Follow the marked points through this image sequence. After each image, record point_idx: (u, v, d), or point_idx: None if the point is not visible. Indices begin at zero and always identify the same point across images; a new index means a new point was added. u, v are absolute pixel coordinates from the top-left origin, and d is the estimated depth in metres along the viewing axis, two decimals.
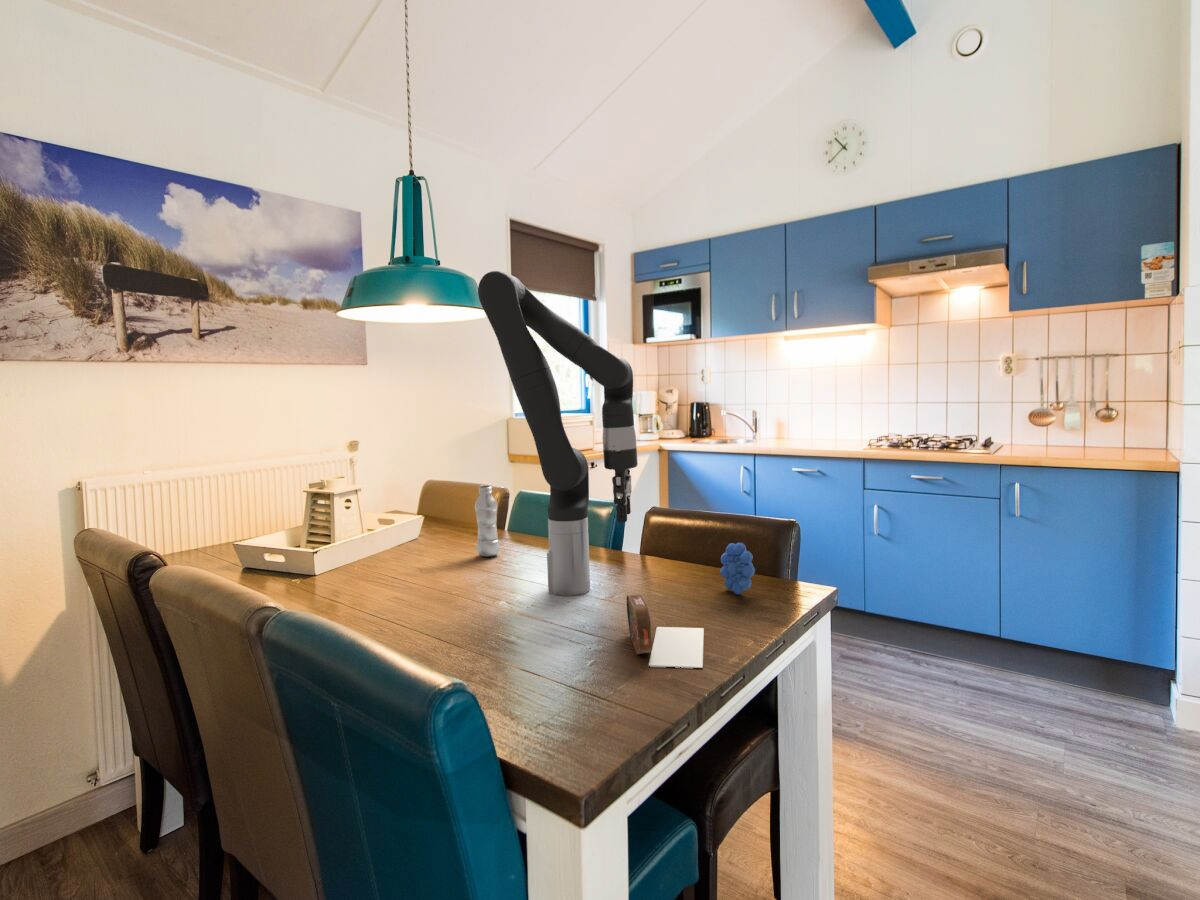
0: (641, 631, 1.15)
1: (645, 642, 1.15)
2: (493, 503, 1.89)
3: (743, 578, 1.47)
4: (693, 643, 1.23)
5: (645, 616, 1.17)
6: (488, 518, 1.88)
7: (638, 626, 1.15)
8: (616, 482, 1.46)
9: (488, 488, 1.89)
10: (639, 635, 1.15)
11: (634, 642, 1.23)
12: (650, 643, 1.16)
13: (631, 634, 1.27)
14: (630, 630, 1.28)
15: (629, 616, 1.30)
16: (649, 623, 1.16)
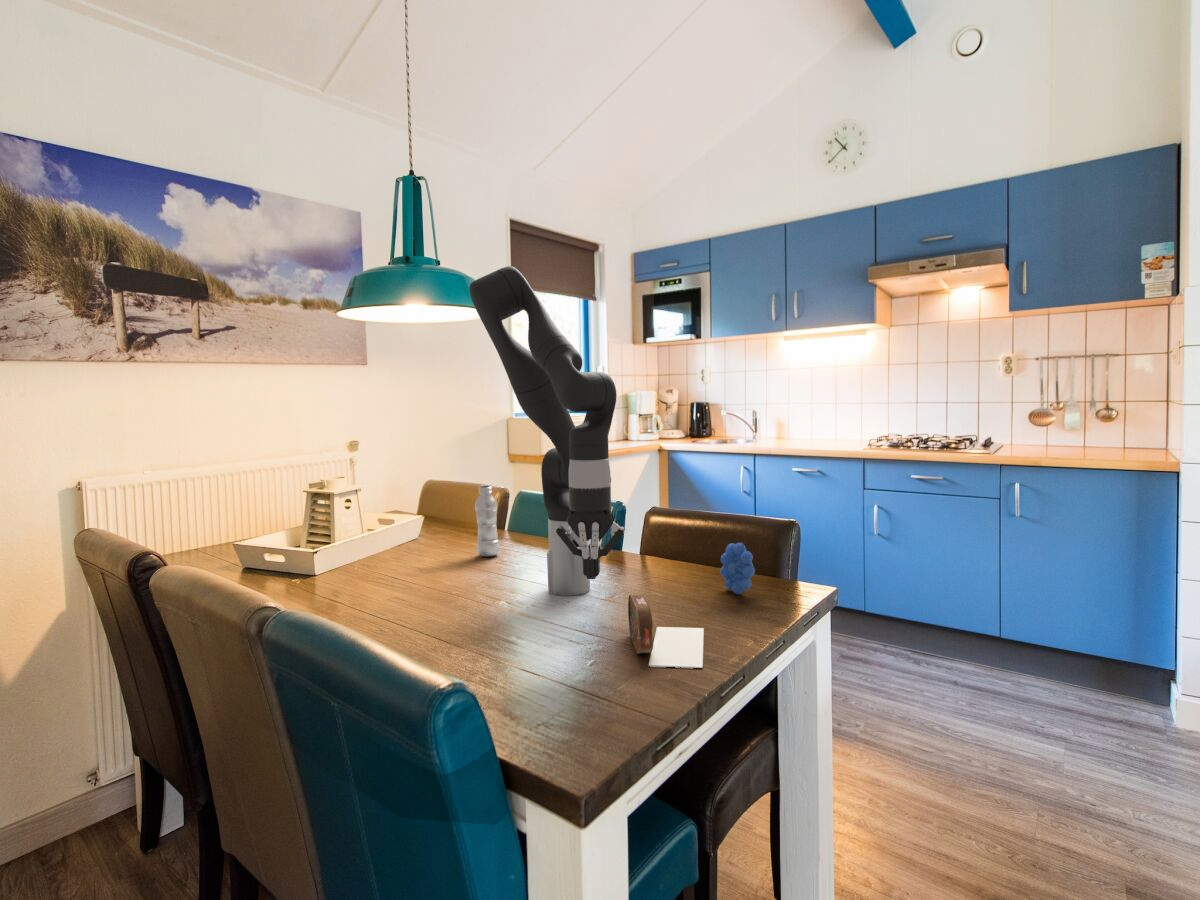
0: (642, 631, 1.15)
1: (646, 641, 1.16)
2: (493, 503, 1.89)
3: (743, 578, 1.47)
4: (693, 643, 1.23)
5: (647, 615, 1.17)
6: (488, 518, 1.88)
7: (640, 625, 1.16)
8: None
9: (488, 488, 1.89)
10: (640, 634, 1.15)
11: (634, 642, 1.23)
12: (651, 643, 1.16)
13: (631, 634, 1.27)
14: (630, 630, 1.28)
15: (630, 616, 1.30)
16: (651, 623, 1.16)
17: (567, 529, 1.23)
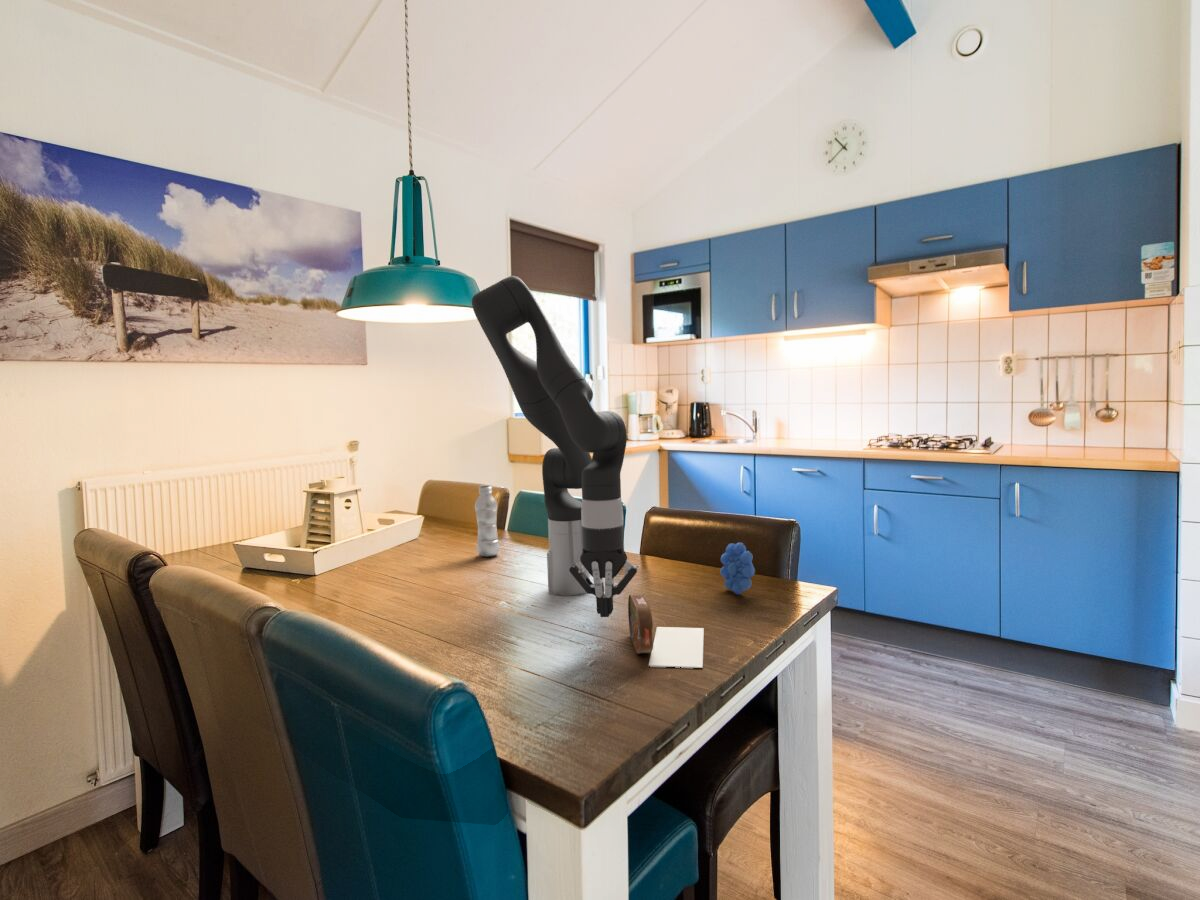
0: (642, 631, 1.15)
1: (646, 641, 1.16)
2: (493, 503, 1.89)
3: (743, 578, 1.47)
4: (693, 643, 1.23)
5: (647, 615, 1.17)
6: (488, 518, 1.88)
7: (640, 625, 1.16)
8: None
9: (488, 488, 1.89)
10: (640, 634, 1.15)
11: (634, 642, 1.23)
12: (651, 643, 1.16)
13: (631, 634, 1.27)
14: (630, 630, 1.28)
15: (630, 616, 1.30)
16: (651, 623, 1.16)
17: (580, 568, 1.23)
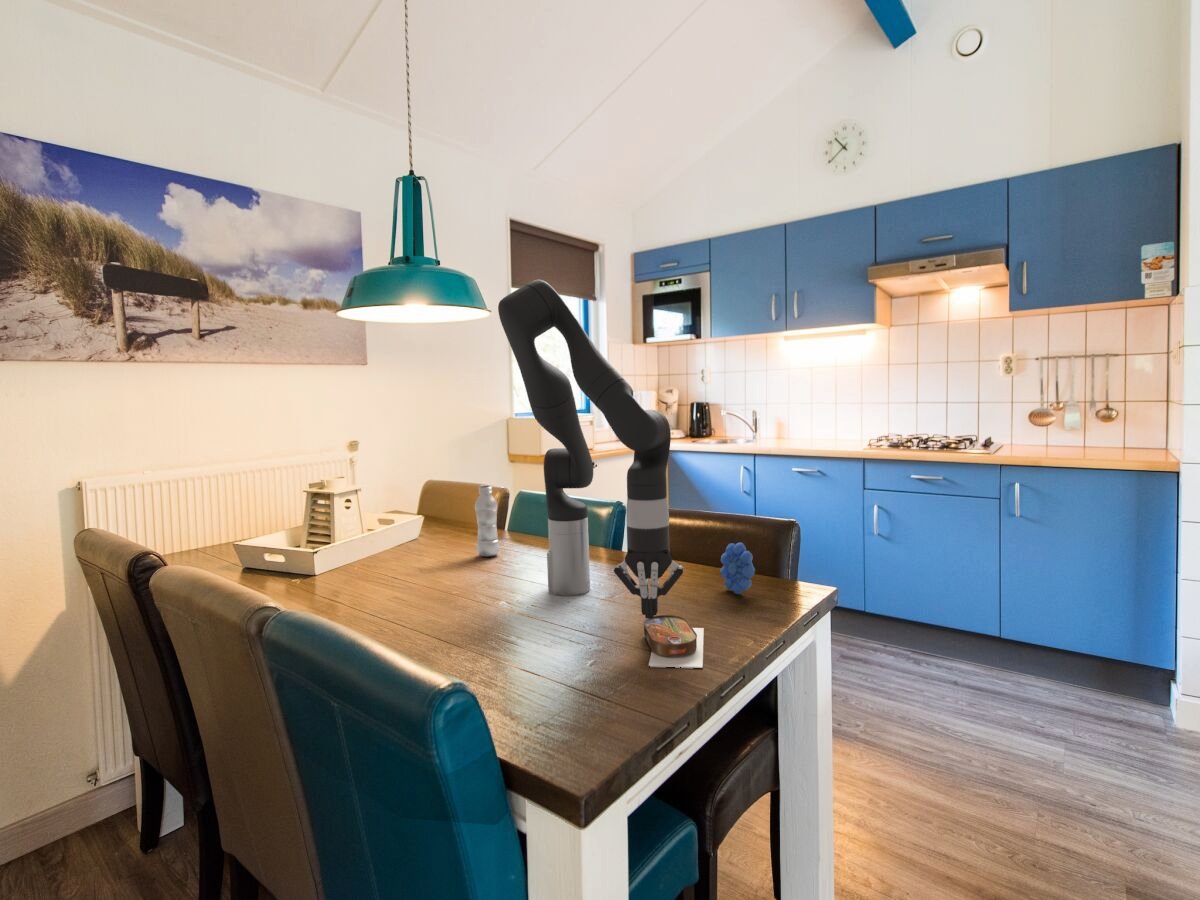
0: (683, 646, 1.16)
1: (673, 650, 1.16)
2: (493, 503, 1.89)
3: (743, 578, 1.47)
4: None
5: (694, 648, 1.18)
6: (488, 518, 1.88)
7: (688, 643, 1.17)
8: None
9: (488, 488, 1.89)
10: (680, 645, 1.16)
11: (648, 630, 1.23)
12: (671, 655, 1.16)
13: (645, 623, 1.27)
14: (647, 620, 1.28)
15: (656, 618, 1.30)
16: (689, 653, 1.17)
17: (625, 568, 1.21)
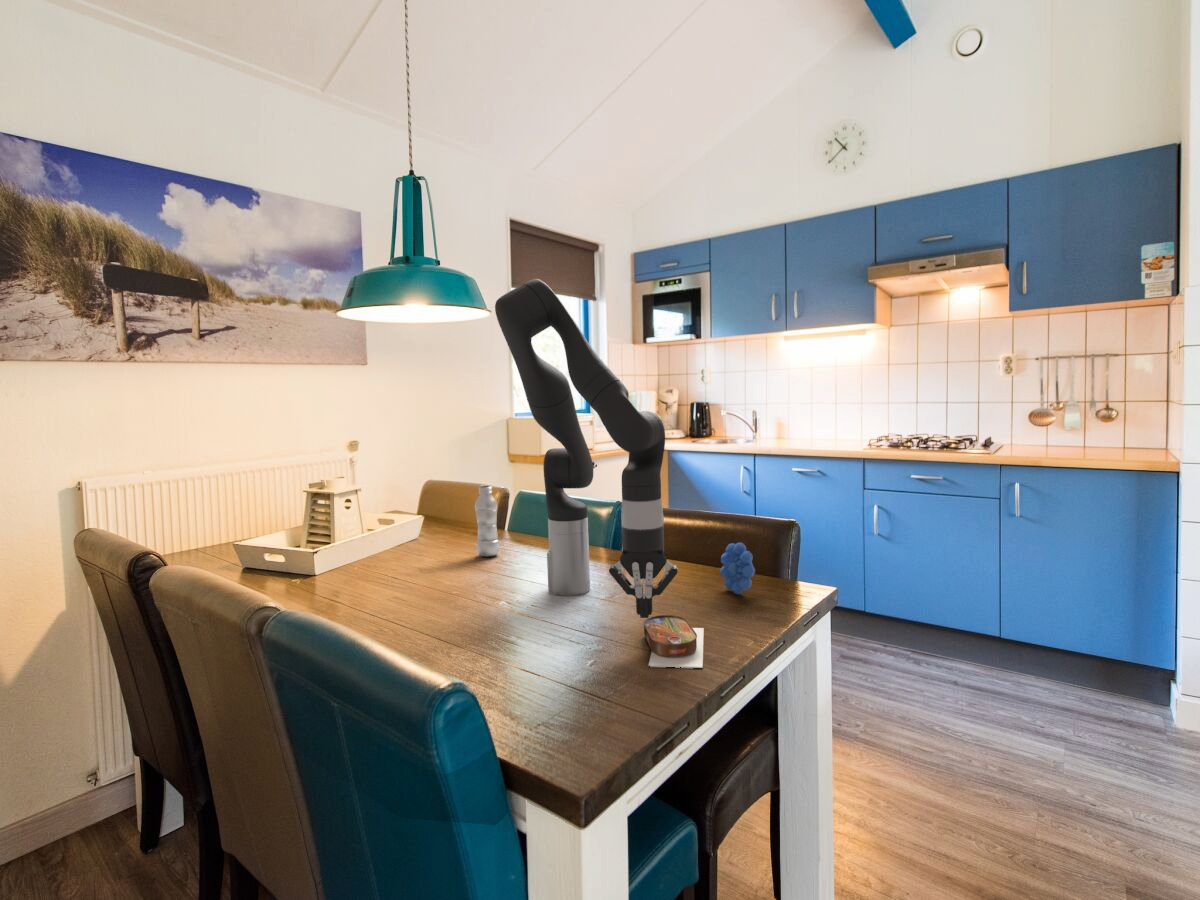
0: (683, 646, 1.16)
1: (672, 650, 1.16)
2: (493, 503, 1.89)
3: (743, 578, 1.47)
4: None
5: (694, 648, 1.18)
6: (488, 518, 1.88)
7: (688, 643, 1.17)
8: None
9: (488, 488, 1.89)
10: (680, 645, 1.16)
11: (648, 630, 1.23)
12: (670, 655, 1.16)
13: (645, 623, 1.27)
14: (647, 620, 1.28)
15: (656, 618, 1.30)
16: (689, 653, 1.17)
17: (620, 568, 1.22)
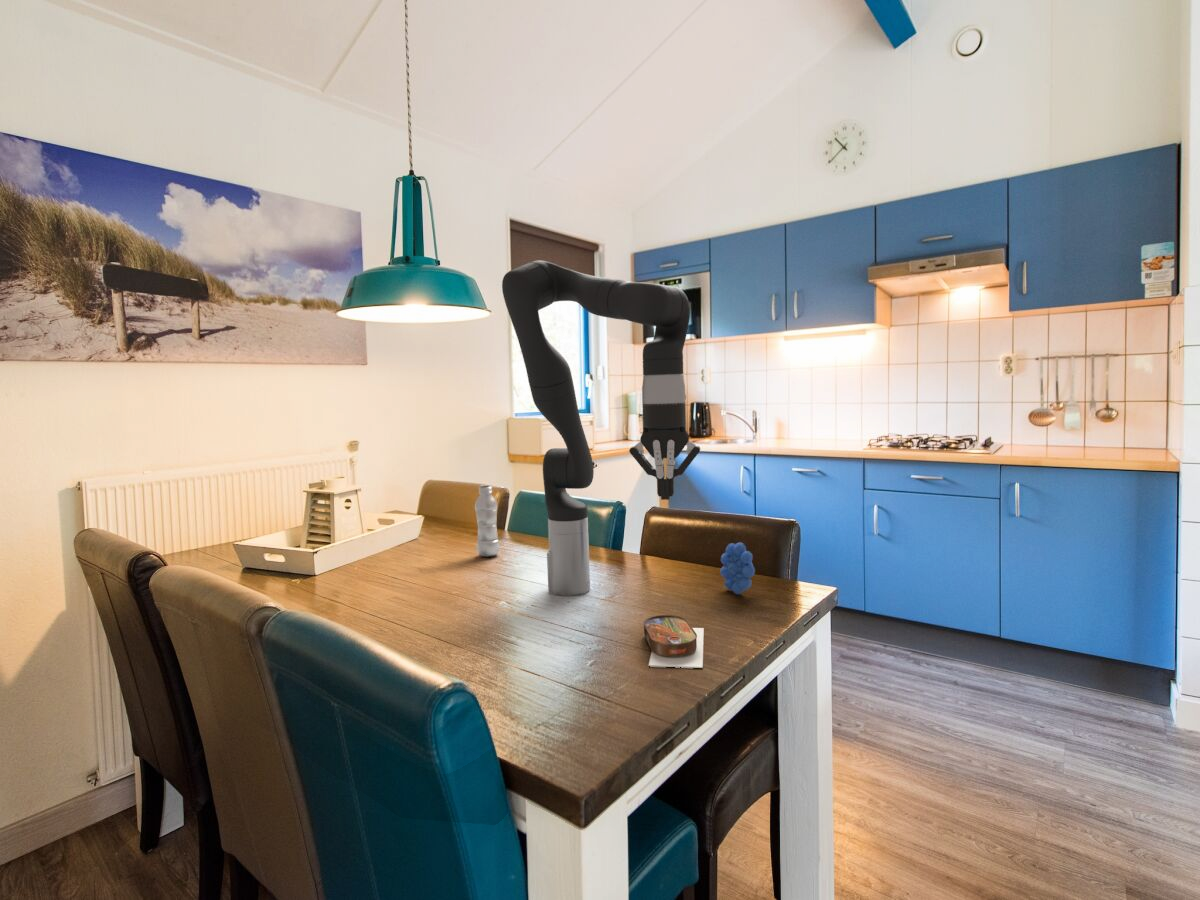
0: (683, 646, 1.16)
1: (672, 650, 1.16)
2: (493, 503, 1.89)
3: (743, 578, 1.47)
4: None
5: (694, 648, 1.18)
6: (488, 518, 1.88)
7: (688, 643, 1.17)
8: None
9: (488, 488, 1.89)
10: (680, 645, 1.16)
11: (648, 630, 1.23)
12: (670, 655, 1.16)
13: (645, 623, 1.27)
14: (647, 620, 1.28)
15: (656, 618, 1.30)
16: (689, 653, 1.17)
17: (640, 449, 1.19)
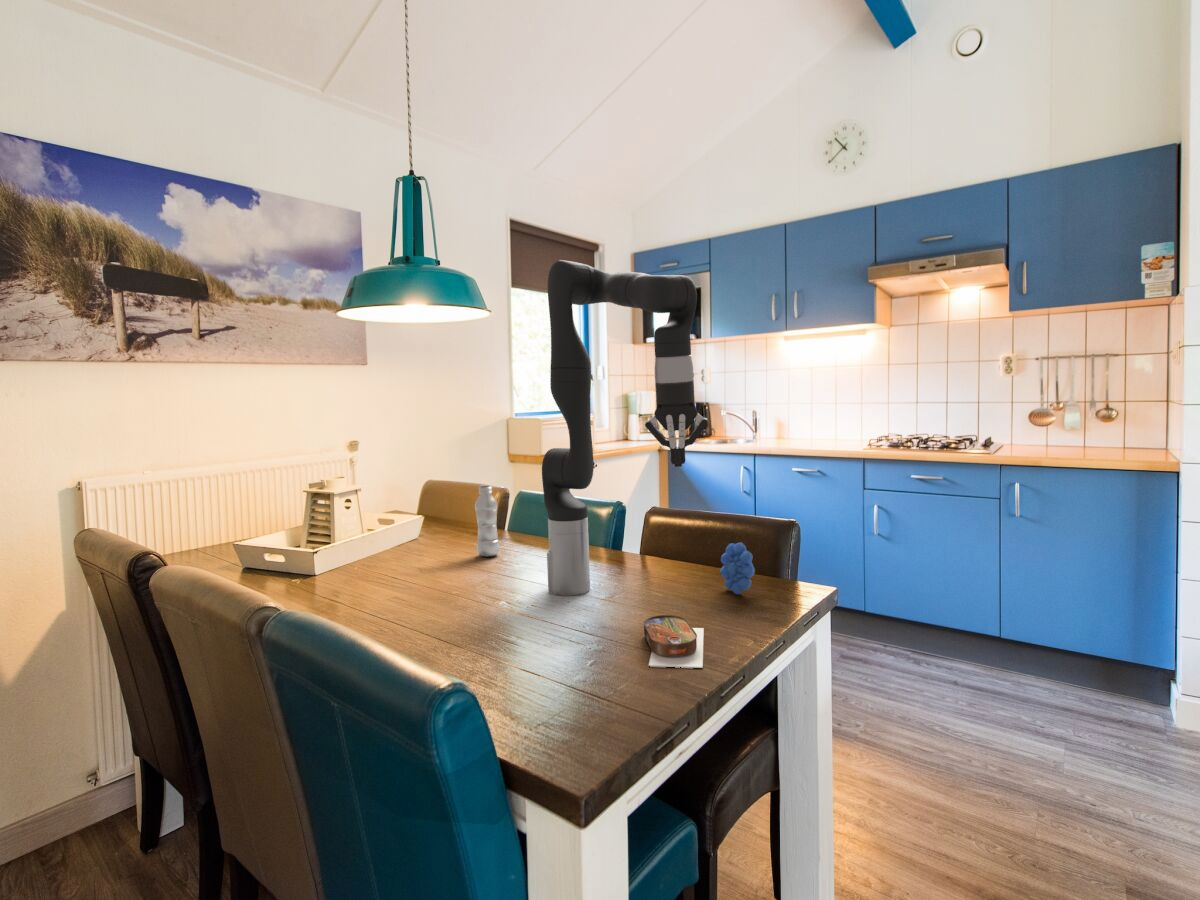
0: (683, 646, 1.16)
1: (672, 650, 1.16)
2: (493, 503, 1.89)
3: (743, 578, 1.47)
4: None
5: (694, 648, 1.18)
6: (488, 518, 1.88)
7: (688, 643, 1.17)
8: None
9: (488, 488, 1.89)
10: (680, 645, 1.16)
11: (648, 630, 1.23)
12: (670, 655, 1.16)
13: (645, 623, 1.27)
14: (647, 620, 1.28)
15: (656, 618, 1.30)
16: (689, 653, 1.17)
17: (654, 423, 1.34)
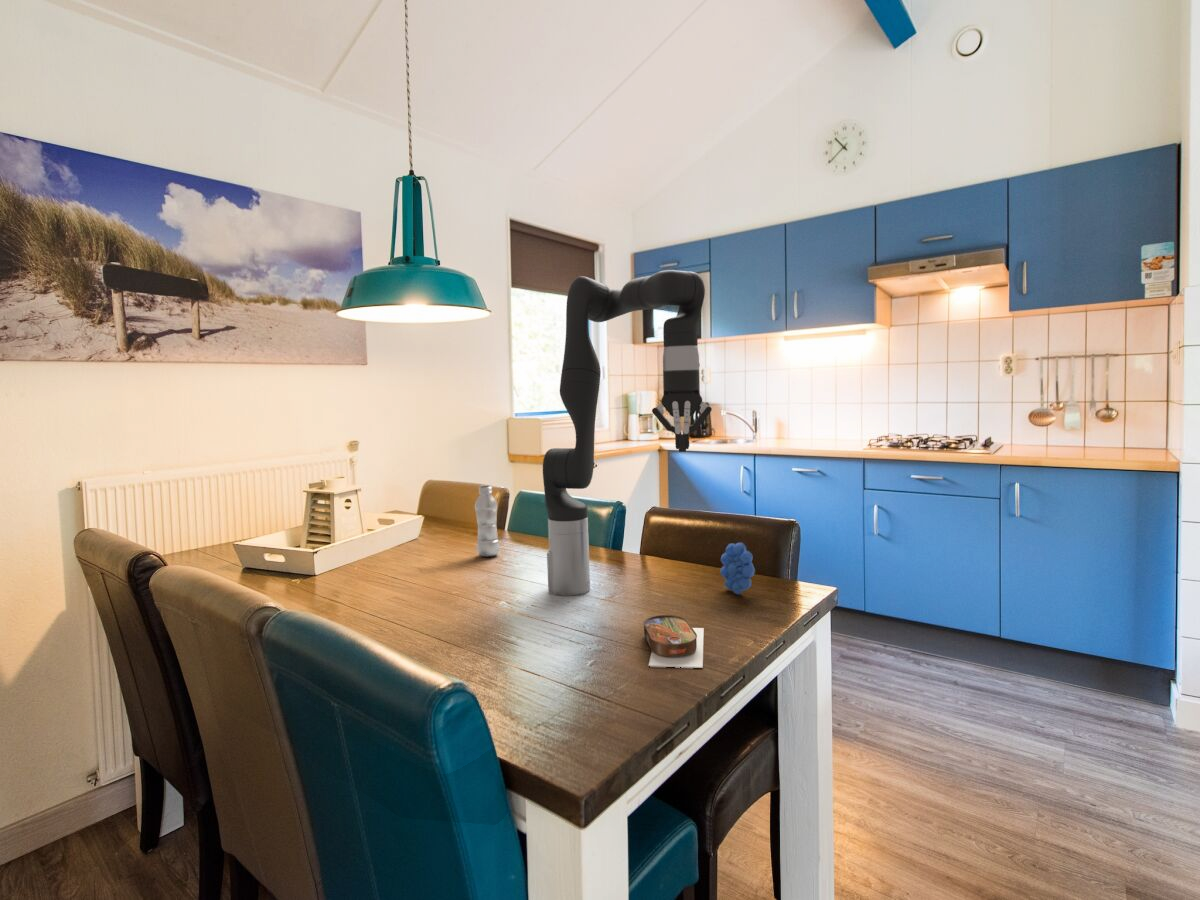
0: (683, 646, 1.16)
1: (672, 650, 1.16)
2: (493, 503, 1.89)
3: (743, 578, 1.47)
4: None
5: (694, 648, 1.18)
6: (488, 518, 1.88)
7: (688, 643, 1.17)
8: None
9: (488, 488, 1.89)
10: (680, 645, 1.16)
11: (648, 630, 1.23)
12: (670, 655, 1.16)
13: (645, 623, 1.27)
14: (647, 620, 1.28)
15: (656, 618, 1.30)
16: (689, 653, 1.17)
17: (661, 409, 1.42)
